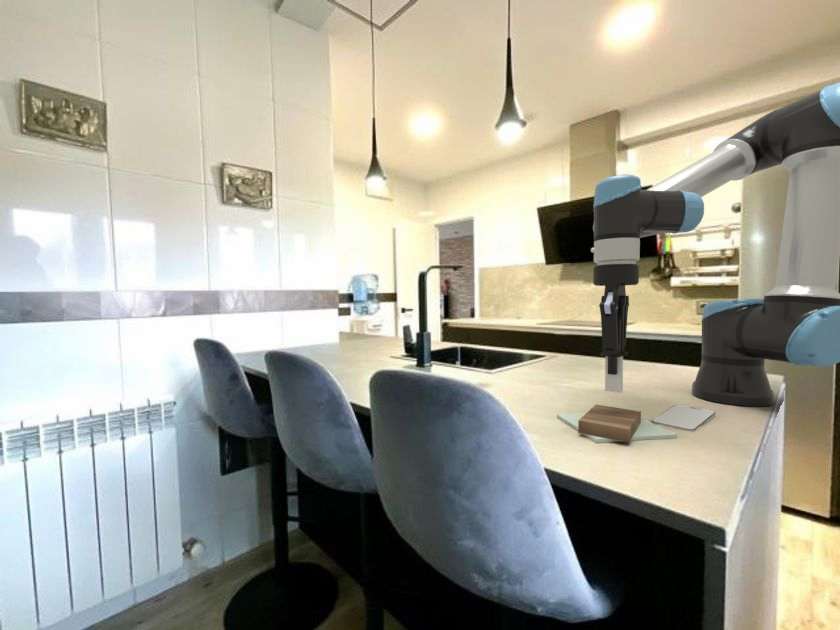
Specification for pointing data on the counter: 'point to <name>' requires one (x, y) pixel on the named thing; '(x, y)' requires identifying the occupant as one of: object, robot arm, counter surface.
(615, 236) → the robot arm
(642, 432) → the mat
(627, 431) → the board
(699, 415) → the smartphone
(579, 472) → the counter surface
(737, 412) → the counter surface
